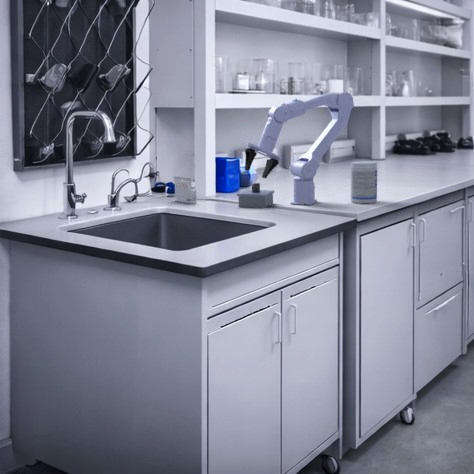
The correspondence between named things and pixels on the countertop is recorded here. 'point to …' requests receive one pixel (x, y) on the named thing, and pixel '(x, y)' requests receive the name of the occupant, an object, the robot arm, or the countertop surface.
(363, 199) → the supplement tub
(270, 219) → the countertop surface
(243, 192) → the lid
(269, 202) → the box
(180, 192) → the ink cartridge box
